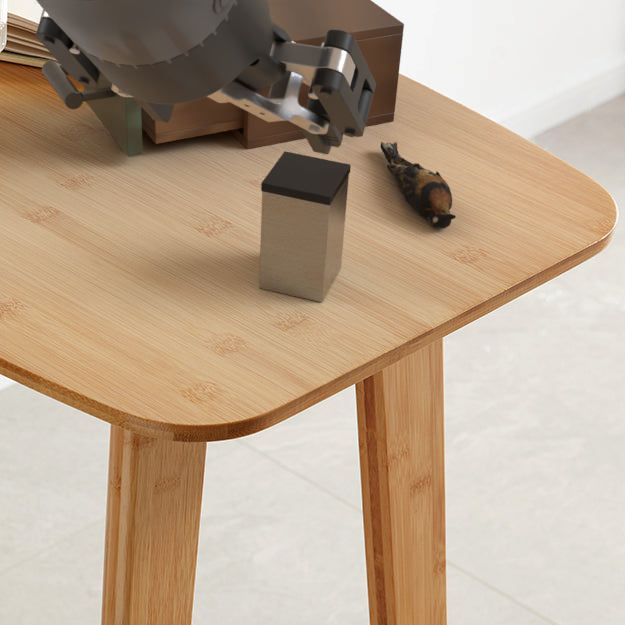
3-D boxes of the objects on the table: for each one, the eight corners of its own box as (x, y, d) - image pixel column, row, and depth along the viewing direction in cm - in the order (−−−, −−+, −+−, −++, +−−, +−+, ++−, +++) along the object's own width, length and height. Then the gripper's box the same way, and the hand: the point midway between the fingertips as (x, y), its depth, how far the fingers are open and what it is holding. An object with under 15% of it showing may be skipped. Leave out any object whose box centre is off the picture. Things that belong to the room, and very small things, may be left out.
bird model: (424, 243, 80) (428, 211, 79) (371, 152, 91) (374, 122, 89) (466, 239, 81) (471, 207, 80) (409, 150, 92) (412, 120, 90)
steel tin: (322, 303, 74) (330, 197, 69) (257, 288, 75) (261, 182, 70) (342, 267, 77) (351, 164, 73) (279, 253, 78) (284, 150, 74)
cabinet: (247, 149, 90) (249, 47, 85) (191, 89, 98) (190, -7, 93) (393, 121, 96) (404, 23, 90) (329, 66, 104) (335, -26, 99)
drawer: (78, 166, 85) (72, 82, 81) (38, 108, 92) (30, 28, 88) (275, 130, 91) (279, 50, 87) (223, 78, 98) (224, 2, 94)
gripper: (355, -102, 40) (401, 74, 56) (-3, -154, 43) (136, 26, 59) (302, 96, 39) (364, 218, 55) (-61, 27, 42) (96, 162, 58)
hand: (246, 119), depth 57 cm, fingers open, 8 cm apart
